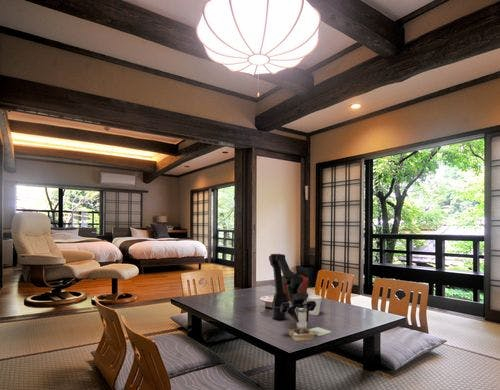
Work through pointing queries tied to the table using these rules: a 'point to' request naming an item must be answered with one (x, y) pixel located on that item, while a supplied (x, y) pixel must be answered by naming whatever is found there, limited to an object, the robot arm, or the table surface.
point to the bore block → (301, 335)
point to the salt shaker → (301, 320)
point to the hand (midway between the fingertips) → (302, 321)
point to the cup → (318, 301)
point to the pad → (319, 331)
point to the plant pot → (301, 290)
